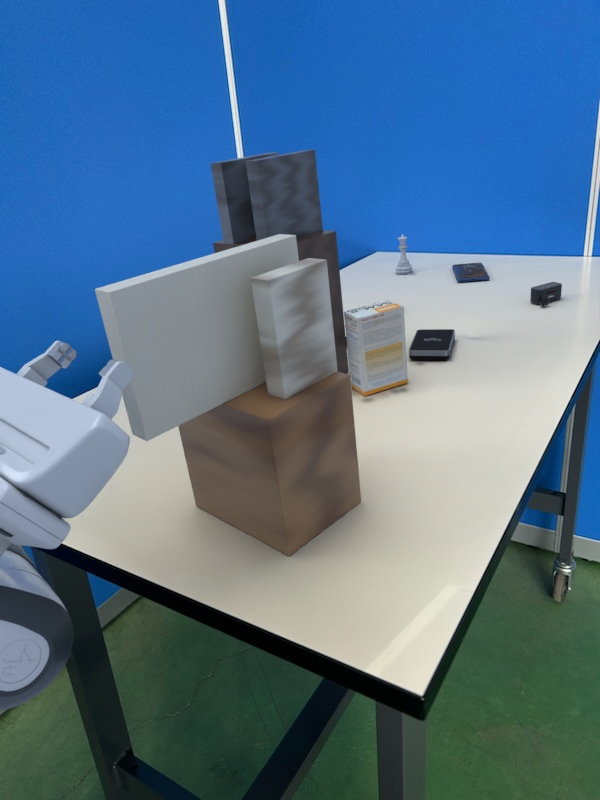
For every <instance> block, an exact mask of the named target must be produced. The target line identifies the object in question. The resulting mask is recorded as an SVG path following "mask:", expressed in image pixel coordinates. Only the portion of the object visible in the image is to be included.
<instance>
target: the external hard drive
mask: <svg viewBox="0 0 600 800" xmlns="http://www.w3.org/2000/svg"><path fill="white" fill-rule="evenodd" d="M412 338H413V339H412V341H411V343H410V345H409V348H408V358H409V359H410V360H414V361H415V360H417V361H420V360H421V361H424V360H427V361H448V360H449V359H450V357H451V353H452V350H453V345H454V343H455V338H456V330H455V329H453V328H440V329H439V328H436V329H433V328H432V329H429V328H428V329H425V328H424V329H423V328H422V329H421V328H420V329H416V332H415V334H414V336H413V337H412Z"/></svg>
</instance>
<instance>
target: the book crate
mask: <svg viewBox="0 0 600 800" xmlns="http://www.w3.org/2000/svg"><path fill="white" fill-rule="evenodd" d="M251 284H252V291H253V297H254V304H255V311H256V317H257V324H258V330H259V337H260V344H261V350H262V357H263V363H264V370H265V377H266V382H265V383H263V384H261V385H259V386H257V387H255V388H253V389H251V390H249V391H247V392H245V393H243V394H241V395H239V396H237V397H235V398H233V399H231V400H229V401H227V402H225V403H223V404H221V405H219V406H217V407H215V408H213V409H211V410H209V411H207V412H205V413H203V414H201V415H199V416H197V417H195V418H193V419H191V420H189V421H187V422H185V423H183V424H181V425H179V426H177V428H178V432H179V436H180V440H181V444H182V449H183V454H184V459H185V463H186V468H187V471H188V477H189V480H190V481H189V482H190V485H191V489H192V490H191V491H192V494H193V499H194V503H195V506H196V507H197V508H199V509H201V510H203V511H204V512H207V514H210V515H212V516H214V517H216V518H217V519H219V520H221V521H223V522H225V523H226V524H228V525H231V526H232V527H234V528H236V529H237V530H239V531H242V532H244V533H245V534H247V535H249V536H251V537H253V538H255V539H256V540H257V541H260V542H262V543H263V544H266V545H268V546H269V547H271V548H273V549H275V550H277V551H278V552H280V553H282V554H284V555H286V556H288V557H290V556H292V555H293V554H294V553H296V552H297V551H299V550H300V549H301V548H302V547H304V546H305V545H307V544H308V543H309V542H310V541H311V540H313V539H315V538H316V537H317V536H318V535H319V534H321V533H322V532H324V531H325V530H326V529H327V528H328V527H330V526H331V525H333V524H334V523H335V522H336V521H338V520H339V519H340V518H341V517H343V516H344V515H346V514H347V513H348V512H350V511H351V510H352V509H354V508H355V507H356V506H358V505H359V504H360V503H362V493H361V482H360V470H359V458H358V448H357V437H356V436H357V435H356V426H355V425H356V424H355V414H354V403H353V393H352V392H353V390H352V387H351V378H350V373H349V374H348V373H346V374H345V373H341V372H337V360H336V350H335V340H334V330H333V320H332V309H331V299H330V289H329V279H328V268H327V260H325V259H314V258H307V259H304V260H301V261H299V262H296V263H293V264H290V265H287V266H284V267H281V268H278V269H275V270H272V271H270V272H267V273H264V274H261V275H258V276H255V277H252V278H251Z"/></svg>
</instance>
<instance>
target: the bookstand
mask: <svg viewBox="0 0 600 800" xmlns="http://www.w3.org/2000/svg"><path fill="white" fill-rule="evenodd" d="M316 157H317V155H316V149H305V150H304V149H303V150H300V151H299V150H298V151H293V152H288V153H282V154H279V152H278V151H275V152H265V153H259V154H254V155H248V156H243V157H238V158H237V157H236V158H232V159H226V160H221V161H215V162H211V163H210V169H211V176H212V181H213V187H214V194H215V201H216V206H217V212H218V218H219V222H220V223H219V224H220V230H221V236H222V239H221V240H218V241H215V242H214V241H213V242H212V246H213V252H214V253H218V252H221V251H224V250H228V249H231V248H234V247H238V246H241V245H245V244H248V243H251V242H255V241H258V240H261V239H265V238H268V237H271V236H275V235H278V234H286V235H296V241H297V249H298V258H299V261H301V260H304V259H307V258H314V259H325V260H327V268H328V279H329V289H330V299H331V309H332V320H333V330H334V340H335V350H336V360H337V372H341V373H345V374H348V373H350V369H349V358H348V349H347V345H346V329H345V319H344V305H343V294H342V282H341V281H342V280H341V273H340V272H341V271H340V260H339V250H338V249H339V248H338V240H337V239H338V237H337V230H324V228H323V226H324V225H323V216H322V208H321V207H322V206H321V196H320V195H321V194H320V185H319V175H318V167H317V158H316Z"/></svg>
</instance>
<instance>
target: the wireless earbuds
mask: <svg viewBox="0 0 600 800" xmlns="http://www.w3.org/2000/svg"><path fill="white" fill-rule="evenodd" d="M562 288H563V284H562V282H561V283H560V282H556V281H551V282H546V283H543V284H539V285H536V286H531V287H530V297H529V299H530V300H529V301H530V303H531V304H535V305H538V306H540V307H545V306H548V305H550V302H551V303H552V302H555V301H558V300H560V299H561V298H562V290H563V289H562Z"/></svg>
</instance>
